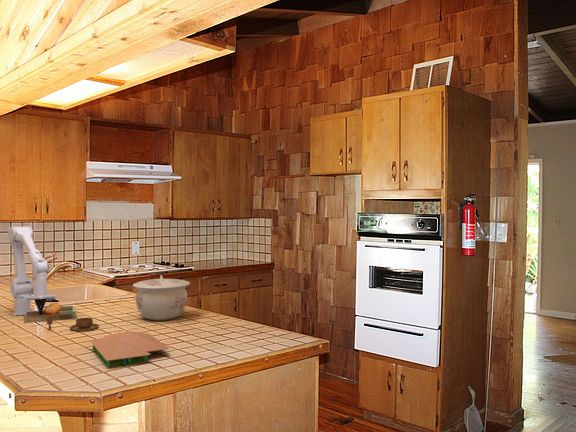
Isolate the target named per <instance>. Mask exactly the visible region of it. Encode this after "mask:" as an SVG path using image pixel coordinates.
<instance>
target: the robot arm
mask: <svg viewBox="0 0 576 432" xmlns="http://www.w3.org/2000/svg"><path fill="white" fill-rule="evenodd" d="M33 231H34V230H33V228H32V227H31V226H29V225H27V226H10V227H9V229H8V232H7V234H8V242H9V243H8V244H9V245H11V247H12V256H13V264H14V273H15V278H13V279H12V280H10V287H9V293H10V295H11V296H12V297H13V298H14V301H13V302H14V305H13V306H14V312H13V314H12V316H14V317H15V316H26V312H33V310H31V301H34V303H35V305H36V308H37V311H39V315H42V313H43V311H44V309H45V305H46V303H47V301H48V300H57V299H58V294H48V273H49V271H50V265H49V261H47V260H46V259H44V258H43V255H42V254H41V251H40V250H39V249H37V248H36V246H35V243H34V240H33V235H34V233H33ZM24 247H25V249H26V250H27V258H28V260H29V262H30V264H31V268H30V269H31V273H32V278H33V280H32V278H31V277H28V276H27V267H26V261H25V260H26V259H25V258H26V256H25V250H24Z"/></svg>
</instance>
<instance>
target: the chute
mask: <svg viewBox="0 0 576 432" xmlns="http://www.w3.org/2000/svg"><path fill="white" fill-rule="evenodd" d="M61 308H62V311H59V314H57V315H45V313H44V310H43V313H42V315H39V310H37V311H35V310H34V311H33V310H32V312H26V315H25V316H24V317H23V322H24V323H25V324H26V323H27V324H28V323H38V322H39V323H40V322H47V318H50V317H52V318H53V322H55V321H65V320H76V319H77V306H73V305H68V306H67V305H64V306H61Z"/></svg>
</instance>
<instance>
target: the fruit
mask: <svg viewBox="0 0 576 432" xmlns="http://www.w3.org/2000/svg"><path fill="white" fill-rule="evenodd" d="M61 307H62V306H61V304H60V303H58V302H52V303H49V304H47V305H46V306H44V308H43V311H44V313H45V315H57V314H59V311H62V308H61Z"/></svg>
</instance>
